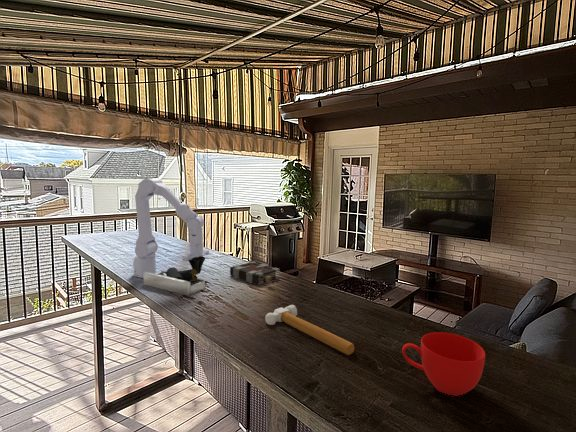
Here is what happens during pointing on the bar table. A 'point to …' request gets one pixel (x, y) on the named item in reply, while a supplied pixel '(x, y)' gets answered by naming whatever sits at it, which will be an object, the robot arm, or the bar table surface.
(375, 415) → the bar table surface
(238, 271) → the book
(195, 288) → the white long box
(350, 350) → the hammer
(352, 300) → the bar table surface
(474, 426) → the bar table surface
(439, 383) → the ceramic cup
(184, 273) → the pipe connector
